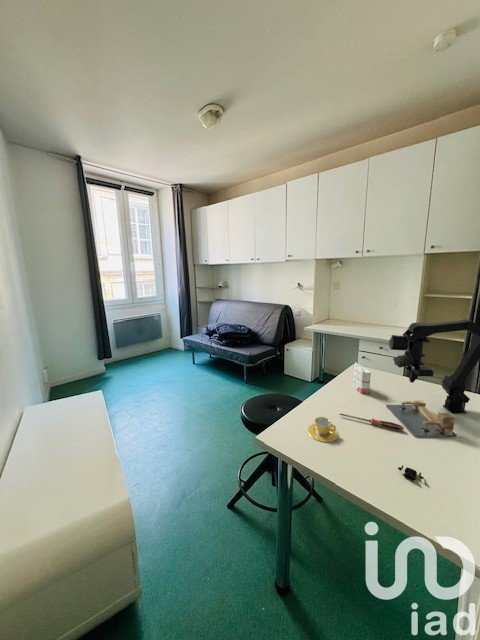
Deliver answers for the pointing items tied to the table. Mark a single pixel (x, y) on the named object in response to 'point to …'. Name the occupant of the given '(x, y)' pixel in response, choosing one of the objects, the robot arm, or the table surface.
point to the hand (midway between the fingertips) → (411, 382)
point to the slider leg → (441, 421)
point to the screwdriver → (380, 423)
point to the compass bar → (426, 413)
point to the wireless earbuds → (410, 473)
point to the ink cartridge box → (361, 379)
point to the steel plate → (415, 421)
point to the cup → (323, 430)
